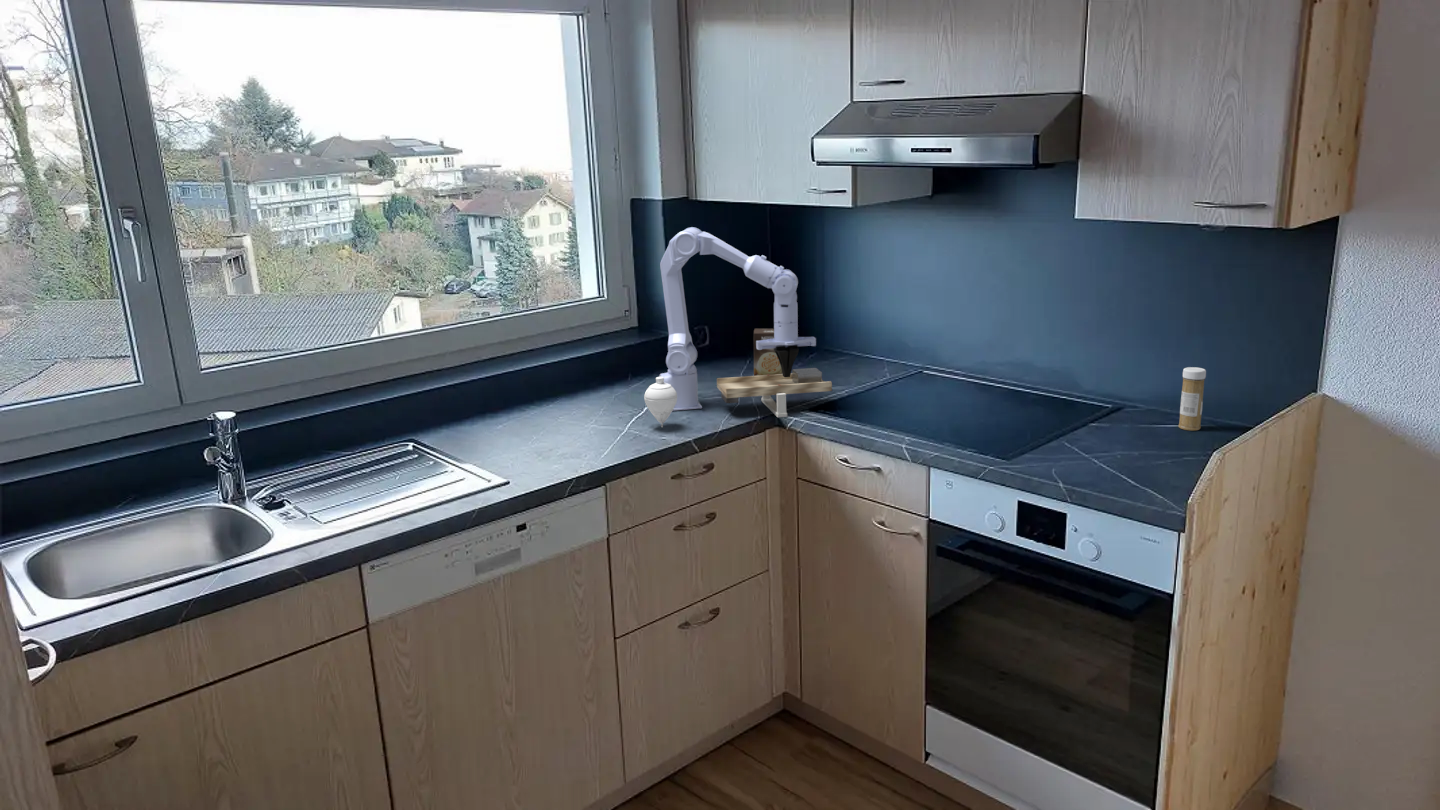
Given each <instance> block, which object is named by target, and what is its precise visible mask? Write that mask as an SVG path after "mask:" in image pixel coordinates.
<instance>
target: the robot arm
mask: <svg viewBox="0 0 1440 810" xmlns="http://www.w3.org/2000/svg"><path fill="white" fill-rule="evenodd" d="M697 253H699V255H700V256H702V255H703V256H705V255H715V256H717V257H719V258H721V259H722V260H724V261H727V262H729V263H731V264H733V265H735V266H737V267H739V268H741V269H742V270H743V273H744V275H745V277H747V278H748V279H750V280H752V281H754V282H756V283H758V284H759V285H761V286H763V287H765V288H767V289H771V290H772V292H773V294H774V302H773V329H774V338H773V339H767V340H759V341H756V349H758V350H762V349H770V348H774V351H775V353H776V355H777V357H778V359H779V362H780V365H781V369H782V373H783V376H784V377H790V375H791V373H792V369H793V366H794V362H795V360H796V358H797V356H798V354H799V350H800V348H799V347H808V346H809V347H810V346H811V347H816V346H817V337H815V336H799V334H798V333H799V332H798V331H799V329H798V327H799V325H798V323H799V322H798V319H799V318H798V317H799V315H798V311H799V310H798V309H799V308H798V302H797V301H798V294H797V288H798V284H799V279H798V277H797V275H796V274H795V273H794V272H793V271H792V270H790V269H785V267H784V266H783V265H780V266H778V265H776V264H774V263H772V262H771V261H770V260H767V256H765V255H763V254H762V255H761V256H760V255H757V254H755V255H752V256H748V255H747V254H746V253H744V252H742V251H741V250H739V249H737V248H735V247H734V246H732V245H730V244H728V243H726V241H724V240H722V239H720V238H718V237H716V236H714V235H713V234H711V233H710V232H706V231H702V230H701V229H699V228H697V227H693V226H691V227H687V228H685V229H684V230H682V231H679V232H677V234H675V235H674V236H673V237H672V238H671V239H670V240H669V242H668V246H667V248H666V250H665V252H664V254H663V256H662V257H661V260H660V266H659V267H660V274H661V281H662V291H663V298H664V306H665V315H666V321H667V331H668V341H667V351H668V352H667V355H666V357H665V364H666V367H667V368H668V369H667V372H664V373H663V372H662V373H660V374H659V376H658V377H664V383H668V384H670V385H671V386H672V387H673V388H674V389H675V391H676V393H677V402H676V405H675V407H674V409H673V411H672V412H674V411H684V410H685V411H686V410H697V409H702V408H703V405H701V403H700V401H699V392H698V371H697V370H698V369H697V367H696V366H695V364H694V363H695V362H696V361H697V360H698V359H697V358H698V351H697V348H696V346H695V345H694V344H693V338H692V335H691V333H690V330H689V329H690V328H689V322H688V321H689V320H688V313H687V305H686V298H685V297H686V296H685V289H684V281H683V273H682V272H683V271H682V268H683V267H684V266H685V265H686V264H687V262H688V261H689V259H691V257H693V256H694V255H696V254H697Z"/></svg>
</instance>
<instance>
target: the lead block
mask: <svg viewBox="0 0 1440 810" xmlns="http://www.w3.org/2000/svg"><path fill="white" fill-rule="evenodd" d="M791 373H792V381H793V382H794V383H795V384H799V383H814V382H822V380H823V377H822V376H823V372H822V371H820V370H819V369H818V368H817V367H807V368H795V369H793V368H792V370H791Z"/></svg>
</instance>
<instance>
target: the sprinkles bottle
mask: <svg viewBox="0 0 1440 810" xmlns="http://www.w3.org/2000/svg"><path fill="white" fill-rule="evenodd" d="M1206 378H1207V370H1206V369H1205V368H1202V367H1195V366H1194V367H1193V366H1192V367H1191V366H1188V367H1184V368H1183V370H1182V388H1181V397H1180V407H1179V423H1178V428H1179V429H1181V430H1184V431H1199V430H1200V429H1201V428H1202V426H1201V422H1202V415H1203V414H1202V413H1203V403H1204V400H1203V399H1204V389H1205V380H1206Z"/></svg>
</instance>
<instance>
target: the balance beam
mask: <svg viewBox="0 0 1440 810" xmlns="http://www.w3.org/2000/svg"><path fill="white" fill-rule="evenodd" d="M716 388H717V389H718V390H719V391H720V395H721V396H720V397H721V399H722V400H723V401H724V402H725V403H726V404H734V403H735V404H736V403H740V402H739V401H740V400H739V398H747V397H748V398H749V397H762V396H766V395H771V396H777V394H778V393H785V394H786V395H794V394H795V395H796V394H805V393H806V394H807V393H809V394H810V393H819V392H820V393H822V392H831V391H833V390H832V389H833V383H832V381H831V380H829V381H825V380H823V379H822V382H814V383H799V384H795V383H794V382H793V381H792V372H791V375H790V377H784V376H783V374H775V375H769V374H768V375H759V376H754V375H747V376H733V377H729V376H728V377H718V378H717V377H716Z"/></svg>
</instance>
